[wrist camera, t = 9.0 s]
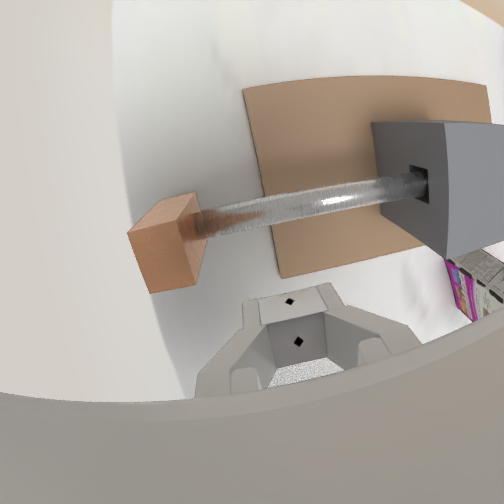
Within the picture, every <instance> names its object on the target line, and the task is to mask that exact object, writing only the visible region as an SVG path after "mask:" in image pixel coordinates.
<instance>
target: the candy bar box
mask: <svg viewBox="0 0 504 504" xmlns="http://www.w3.org/2000/svg"><path fill="white" fill-rule="evenodd" d="M445 263H446V266H447V269H448V273H449V276H450V280H451V283H452V287H453V291H454V296H455V300H456V304H457V308H458V309H460V310H461V311H462V312H463V313H464V314H465V315H466V316H467V317H468V318H469V319H470V320H471V321H472V322H474V321H476V320H478V319H480V318H482V317H484V316H486V315H488V314H490V313H492V312H494V311H496V310H498V309H500V308H502V307H503V306H504V263H503V262H501V261H500V260H498V259H497V258H495V257H493V256H492V255H490V254H489V253H487V252H485V251H484V250H482V249H478V250H475V251H472V252H469V253H466V254H463V255H460V256H457V257H453V258H450V259H447V260H446V259H445Z"/></svg>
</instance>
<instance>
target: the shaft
mask: <svg viewBox="0 0 504 504" xmlns="http://www.w3.org/2000/svg"><path fill="white" fill-rule="evenodd" d="M424 195H429V183H428V170H424V171H416V172H409V173H401V174H394V175H387V176H380V177H374V178H367V179H361V180H354V181H348V182H342V183H336V184H331V185H325V186H319V187H314V188H308V189H303V190H298V191H292V192H287V193H282V194H277V195H272V196H267V197H262V198H257V199H253V200H248V201H243V202H239V203H234V204H230V205H225V206H221V207H216V208H212V209H208V210H203V211H200V207H199V203H198V199H197V195H196V192H192V193H188V194H184V195H180V196H176V197H172V198H169V199H165V200H161V201H160V202H159V203H157V204H156V205H155V206H154V207H153V208H152V209H151V210H150V211H149V212H148V213H147V214H146V215H145V216H144V217H143V218H142V219H141V220H139V221H138V222H137V223H136V224H135V225H134V226H133V227H132V228H131V229H130V230H129V231H128V232H127V234H128V237H129V240H130V243H131V246H132V249H133V251H134V254H135V257H136V260H137V262H138V265H139V268H140V270H141V273H142V275H143V278H144V281H145V283H146V286H147V288H148V291H149V293H150V294H151V293H156V292H162V291H167V290H172V289H177V288H183V287H188V286H193V285H196V283H197V279H198V275H199V271H200V267H201V263H202V259H203V255H204V251H205V247H206V243H207V239H208V238H212V237H216V236H221V235H225V234H230V233H234V232H239V231H244V230H248V229H253V228H258V227H263V226H267V225H272V224H277V223H282V222H287V221H292V220H297V219H301V218H306V217H311V216H316V215H322V214H327V213H332V212H337V211H342V210H347V209H352V208H358V207H363V206H368V205H374V204H379V203H385V202H390V201H396V200H401V199H407V198H412V197H418V196H424Z"/></svg>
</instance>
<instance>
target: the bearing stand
mask: <svg viewBox="0 0 504 504" xmlns="http://www.w3.org/2000/svg"><path fill="white" fill-rule="evenodd" d="M243 94H244V99H245V103H246V108H247V112H248V117H249V121H250V126H251V130H252V135H253V140H254V145H255V149H256V154H257V159H258V164H259V168H260V173H261V178H262V183H263V188H264V193H265V197H267V196H272V195H277V194H282V193H287V192H292V191H298V190H303V189H308V188H314V187H319V186H325V185H331V184H336V183H342V182H348V181H354V180H361V179H367V178H374V177H380V176H387V175H394V174H401V173H409V172H416V171H424V170H428V183H429V195H424V196H418V197H412V198H407V199H401V200H396V201H390V202H385V203H379V204H374V205H368V206H363V207H358V208H352V209H347V210H342V211H337V212H332V213H327V214H322V215H316V216H311V217H306V218H301V219H297V220H292V221H287V222H282V223H277V224H272V225H271V228H272V234H273V239H274V244H275V249H276V255H277V260H278V265H279V271H280V276H281V279H284V278H289V277H294V276H298V275H303V274H307V273H312V272H316V271H321V270H325V269H329V268H334V267H338V266H342V265H347V264H351V263H355V262H359V261H364V260H368V259H372V258H376V257H380V256H384V255H388V254H392V253H396V252H400V251H404V250H408V249H412V248H416V247H420V246H423V245H426V246H428V247H429V248H431V249H432V250H433V251H435V252H436V253H437V254H439V255H440V256H442V257H443V258H444V259H446V260H447V259H450V258H453V257H457V256H460V255H463V254H466V253H469V252H472V251H475V250H478V249H481V248H484V247H487V246H490V245H493V244H496V243H498V242H501V241H504V125H499V124H492V123H491V114H490V107H489V100H488V94H487V88H486V86H485V85H480V84H474V83H468V82H461V81H453V80H445V79H435V78H423V77H406V76H348V77H330V78H317V79H307V80H298V81H289V82H282V83H275V84H268V85H262V86H256V87H250V88H245V89H243Z"/></svg>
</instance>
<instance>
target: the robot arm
mask: <svg viewBox="0 0 504 504" xmlns="http://www.w3.org/2000/svg"><path fill="white" fill-rule="evenodd" d="M242 312H243V329H240V330H238V331H237V333H236V334H235V335H234V336H233V337H232V338H231V339H230V340H229V341H228V342H227V343H226V344H225V346H224V347H223V348H222V349H221V350H220V351H219V352H218V353H217V354H216V355H215V356H214V357H213V358H212V359H211V360H210V361H209V363H208V364H207V365H206V366H205V367H204V368H203V369H202V370H201V371H200V372H199V373H198V375H197V382H196V390H195V397H194V399H184V400H172V401H154V402H81V401H65V400H52V399H42V398H34V397H27V396H19V395H13V394H8V393H2V392H0V504H504V306H503V307H502V308H500V309H498V310H496V311H494V312H492V313H490V314H488V315H486V316H484V317H482V318H480V319H478V320H476V321H474V322H472V323H470V324H468V325H466V326H464V327H462V328H460V329H457V330H455V331H453V332H451V333H448V334H446V335H444V336H441V337H439V338H437V339H434V340H432V341H429V342H427V343H424V344H422V343H421V342H420V341H419V339H418V338H417V337H416V336H415V334H414V333H413V332H412V331H411V329H410V328H409V327H408V326H407V325H404V324H401V323H399V322H396V321H393V320H390V319H387V318H384V317H381V316H378V315H376V314H373V313H370V312H367V311H364V310H361V309H359V308H356V307H353V306H350V305H347V306H345V305H344V304H343V302H342V300H341V299H340V297H339V296H338V294H337V292H336V291H335V289H334V288H333V286H332V284H331V283H325V284H322V285H318V286H314V287H310V288H306V289H302V290H298V291H294V292H290V293H284V294H279V295H274V296H269V297H264V298H258V299H252V300H248V301H243V303H242ZM325 357H327V358H328V359H330V360H331V361H333V362H334V363H335V364H337V365H338V366H340V367H341V368H343V369H344V371H341V372H337V373H333V374H329V375H326V376H322V377H318V378H314V379H309V380H305V381H301V382H296V383H292V384H287V385H282V386H277V387H272V388H267V387H268V385H269V383H270V381H271V379H272V378H273V376H274V374H275V372H276V369H277V368H281V367H285V366H290V365H294V364H298V363H302V362H307V361H311V360H316V359H320V358H325Z"/></svg>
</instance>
